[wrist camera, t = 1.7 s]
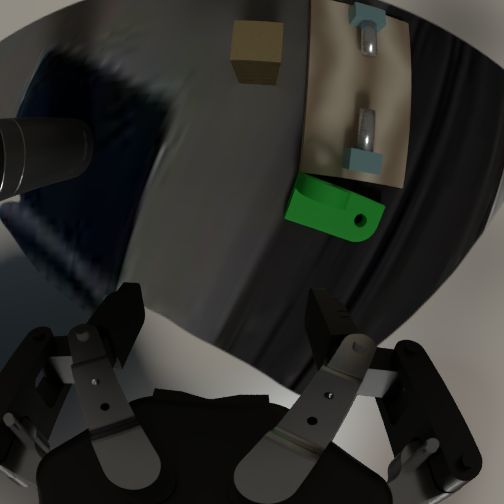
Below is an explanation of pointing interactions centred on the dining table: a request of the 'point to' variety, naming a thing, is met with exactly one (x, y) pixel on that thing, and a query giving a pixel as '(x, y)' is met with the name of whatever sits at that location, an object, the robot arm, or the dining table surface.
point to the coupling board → (356, 94)
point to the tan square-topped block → (256, 51)
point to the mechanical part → (332, 209)
